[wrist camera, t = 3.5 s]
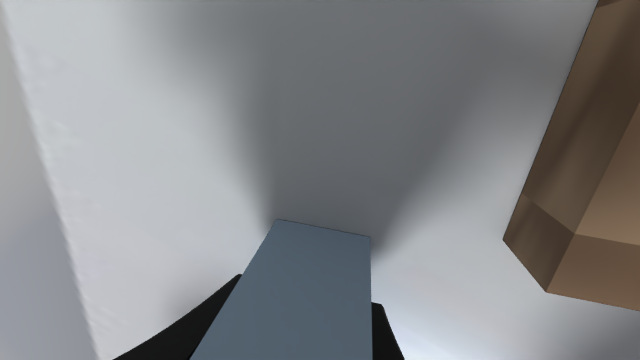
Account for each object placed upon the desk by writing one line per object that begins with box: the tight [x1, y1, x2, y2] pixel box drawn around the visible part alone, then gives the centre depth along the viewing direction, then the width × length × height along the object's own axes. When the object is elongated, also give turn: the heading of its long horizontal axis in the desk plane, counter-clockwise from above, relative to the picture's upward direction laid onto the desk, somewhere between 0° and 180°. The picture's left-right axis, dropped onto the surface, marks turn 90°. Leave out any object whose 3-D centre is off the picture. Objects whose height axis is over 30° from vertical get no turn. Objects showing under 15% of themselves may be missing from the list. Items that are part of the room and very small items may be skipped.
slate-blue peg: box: [190, 219, 372, 360], centre depth 9 cm, size 4×4×9 cm
